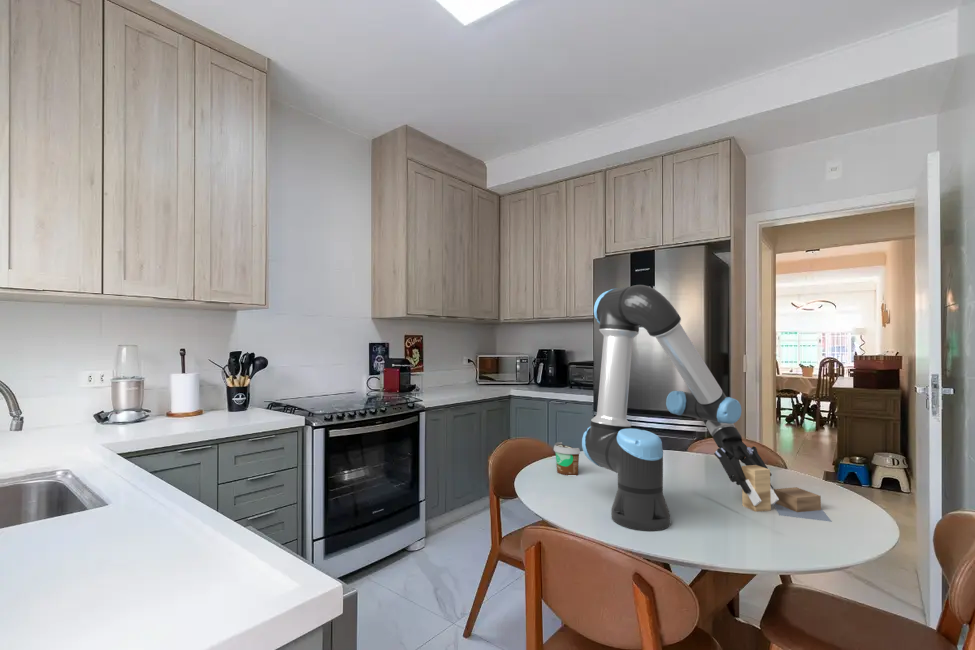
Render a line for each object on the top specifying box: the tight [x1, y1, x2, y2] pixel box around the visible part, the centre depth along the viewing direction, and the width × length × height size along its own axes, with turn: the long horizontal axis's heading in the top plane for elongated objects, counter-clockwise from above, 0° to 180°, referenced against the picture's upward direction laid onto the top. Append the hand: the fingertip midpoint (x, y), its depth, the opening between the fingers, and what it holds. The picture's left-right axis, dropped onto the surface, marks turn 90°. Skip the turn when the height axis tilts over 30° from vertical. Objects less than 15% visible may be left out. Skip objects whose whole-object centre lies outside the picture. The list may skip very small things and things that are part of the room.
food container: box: [553, 441, 581, 476], centre depth 172 cm, size 12×6×10 cm, turn 25°
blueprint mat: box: [772, 503, 833, 523], centre depth 135 cm, size 20×12×1 cm, turn 157°
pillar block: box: [741, 465, 772, 513], centre depth 134 cm, size 5×5×12 cm
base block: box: [773, 486, 822, 512], centre depth 136 cm, size 8×8×4 cm
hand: (766, 502), depth 131 cm, fingers closed on pillar block, 5 cm apart
